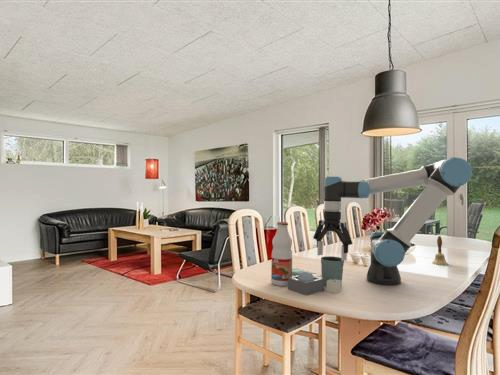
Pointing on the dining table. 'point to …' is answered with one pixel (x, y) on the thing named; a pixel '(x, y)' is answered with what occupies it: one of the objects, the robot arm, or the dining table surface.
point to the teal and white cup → (331, 268)
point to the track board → (298, 271)
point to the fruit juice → (281, 256)
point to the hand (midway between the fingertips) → (331, 257)
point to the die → (333, 285)
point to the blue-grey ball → (305, 276)
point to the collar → (306, 285)
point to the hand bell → (439, 254)
